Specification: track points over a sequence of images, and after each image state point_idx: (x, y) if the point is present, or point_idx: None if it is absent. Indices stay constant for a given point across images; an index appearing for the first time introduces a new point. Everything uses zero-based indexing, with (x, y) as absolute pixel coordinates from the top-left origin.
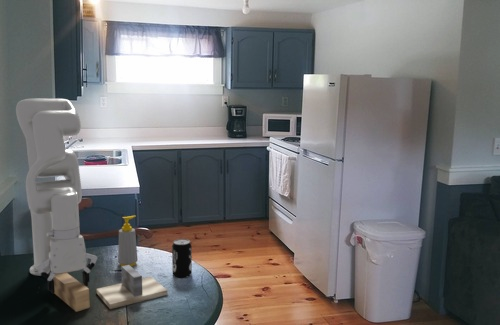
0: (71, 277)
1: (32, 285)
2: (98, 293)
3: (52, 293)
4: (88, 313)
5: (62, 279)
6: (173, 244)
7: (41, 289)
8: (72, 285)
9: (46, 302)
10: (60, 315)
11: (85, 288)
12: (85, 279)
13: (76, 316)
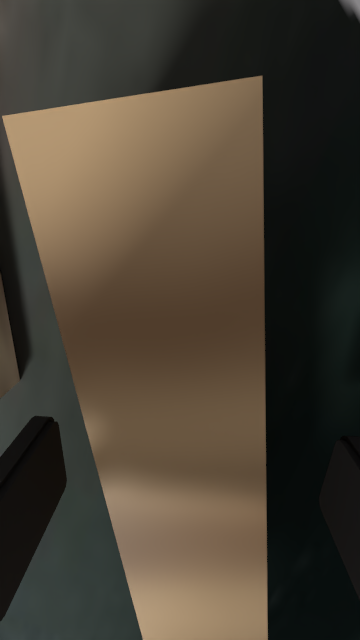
0: (141, 582)
1: (293, 626)
2: (3, 350)
3: (356, 437)
4: (146, 47)
5: (233, 587)
6: None
7: (277, 576)
8: (198, 400)
9: (326, 431)
10: (349, 167)
11: (56, 174)
12: (15, 475)
13: (254, 50)
